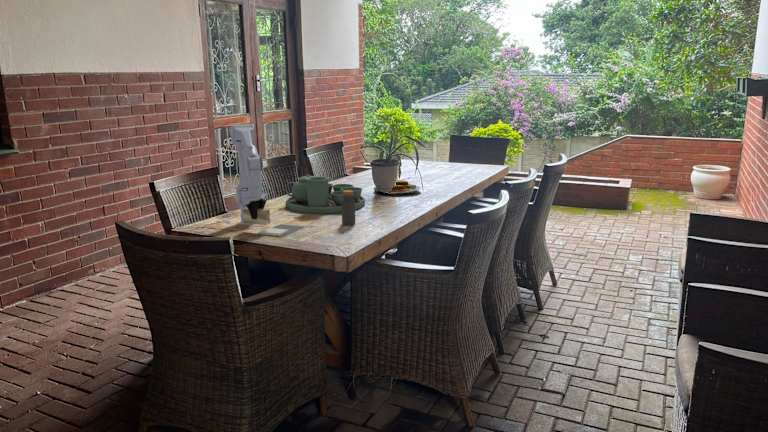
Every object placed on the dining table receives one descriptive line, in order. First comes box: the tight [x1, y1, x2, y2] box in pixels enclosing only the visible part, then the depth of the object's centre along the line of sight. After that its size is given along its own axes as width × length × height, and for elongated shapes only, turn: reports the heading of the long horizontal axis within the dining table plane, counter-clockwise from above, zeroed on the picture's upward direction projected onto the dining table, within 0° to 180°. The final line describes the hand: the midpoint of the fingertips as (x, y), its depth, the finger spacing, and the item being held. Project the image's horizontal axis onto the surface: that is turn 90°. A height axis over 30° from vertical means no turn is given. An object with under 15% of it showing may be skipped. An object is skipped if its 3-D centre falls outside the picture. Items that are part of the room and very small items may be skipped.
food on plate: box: [382, 179, 422, 196], centre depth 341 cm, size 25×25×7 cm
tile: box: [260, 227, 289, 237], centre depth 250 cm, size 7×1×9 cm
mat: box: [254, 223, 306, 239], centre depth 254 cm, size 20×13×1 cm, turn 157°
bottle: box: [341, 190, 356, 227], centre depth 266 cm, size 6×6×15 cm
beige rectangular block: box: [243, 208, 271, 226], centre depth 251 cm, size 3×11×6 cm, turn 67°
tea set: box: [284, 174, 366, 215], centre depth 306 cm, size 40×40×16 cm
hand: (256, 218), depth 252 cm, fingers closed on beige rectangular block, 3 cm apart
